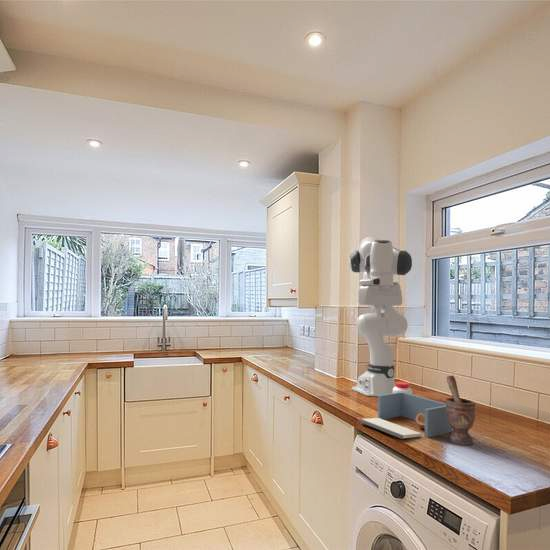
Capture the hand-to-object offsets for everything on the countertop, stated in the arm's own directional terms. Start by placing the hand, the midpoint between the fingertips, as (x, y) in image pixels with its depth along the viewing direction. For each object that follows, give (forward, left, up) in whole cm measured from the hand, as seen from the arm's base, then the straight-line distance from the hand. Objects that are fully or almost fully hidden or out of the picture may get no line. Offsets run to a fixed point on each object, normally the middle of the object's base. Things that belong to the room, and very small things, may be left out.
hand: (380, 317), depth 151 cm
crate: (+10, +6, -39) cm, 40 cm away
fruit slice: (+15, +7, -39) cm, 42 cm away
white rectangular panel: (+10, -1, -39) cm, 40 cm away
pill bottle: (-6, +19, -39) cm, 44 cm away
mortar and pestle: (+27, +7, -39) cm, 48 cm away
